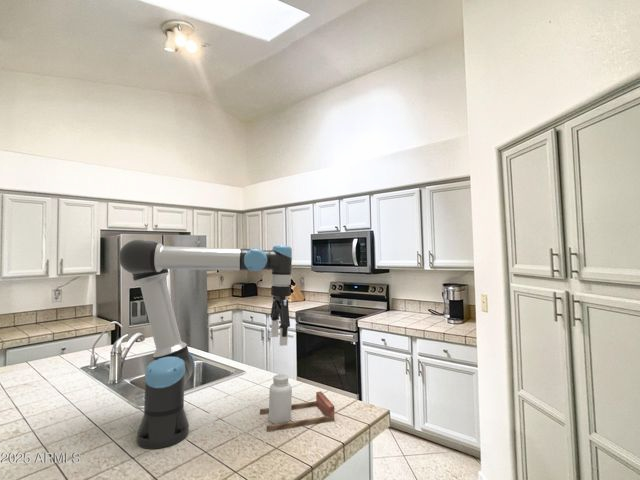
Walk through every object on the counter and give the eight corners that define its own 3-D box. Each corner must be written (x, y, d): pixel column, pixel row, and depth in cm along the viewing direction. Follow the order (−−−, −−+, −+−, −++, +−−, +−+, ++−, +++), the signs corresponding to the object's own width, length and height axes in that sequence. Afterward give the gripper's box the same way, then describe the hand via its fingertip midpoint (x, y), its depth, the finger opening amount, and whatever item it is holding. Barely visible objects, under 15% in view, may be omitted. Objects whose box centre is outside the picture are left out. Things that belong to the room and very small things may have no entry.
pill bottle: (280, 427, 115) (281, 382, 116) (264, 420, 120) (264, 377, 121) (295, 418, 121) (296, 376, 122) (279, 412, 126) (280, 371, 127)
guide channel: (267, 431, 112) (267, 416, 112) (260, 413, 125) (260, 399, 125) (334, 420, 120) (334, 406, 120) (321, 404, 133) (321, 391, 133)
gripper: (300, 288, 121) (297, 348, 120) (282, 282, 144) (279, 333, 143) (279, 288, 118) (277, 350, 117) (264, 282, 141) (262, 334, 140)
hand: (278, 341), depth 130 cm, fingers open, 13 cm apart
